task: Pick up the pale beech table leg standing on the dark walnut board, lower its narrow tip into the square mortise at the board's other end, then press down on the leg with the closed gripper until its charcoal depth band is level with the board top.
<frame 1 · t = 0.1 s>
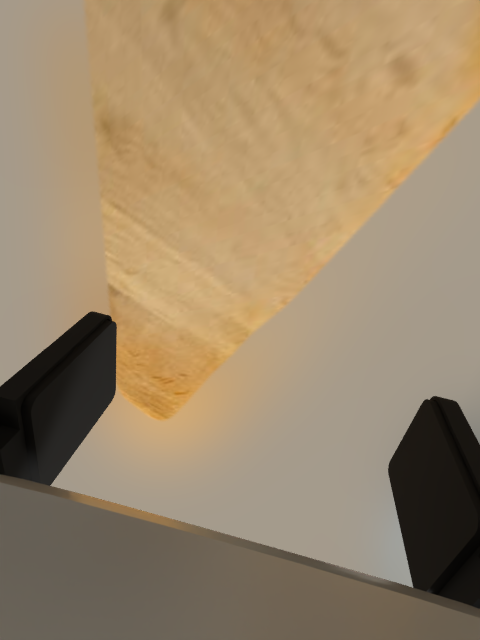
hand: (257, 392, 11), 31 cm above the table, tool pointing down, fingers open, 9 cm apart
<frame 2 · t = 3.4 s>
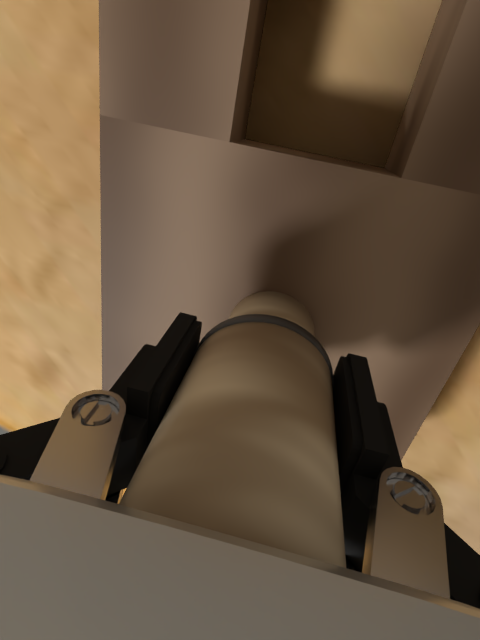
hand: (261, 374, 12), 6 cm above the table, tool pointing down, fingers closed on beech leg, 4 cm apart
walnut board: (304, 188, 15), on the table
beech leg: (270, 331, 14), point 3 cm above the table, touching gripper, walnut board
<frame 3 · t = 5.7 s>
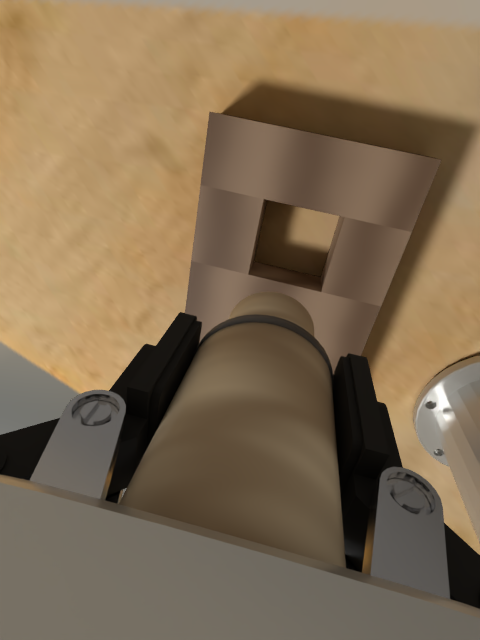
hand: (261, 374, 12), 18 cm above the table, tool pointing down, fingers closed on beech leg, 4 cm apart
walnut board: (283, 284, 30), on the table
beech leg: (270, 331, 14), point 15 cm above the table, touching gripper
when the fingers open (4 cm above the table, at t = 8.3 s): beech leg drops 1 cm, resting in walnut board.
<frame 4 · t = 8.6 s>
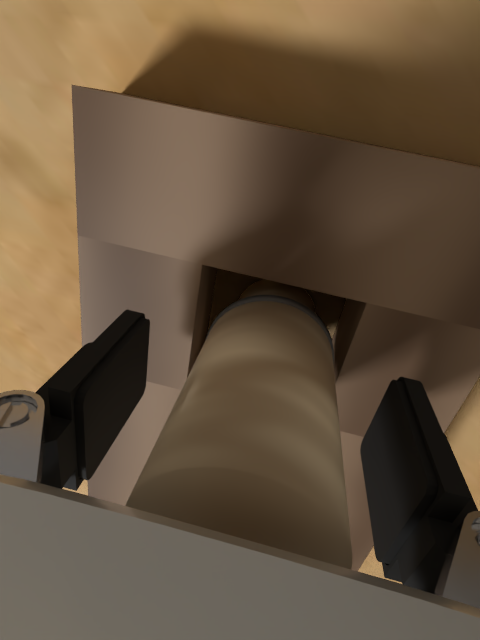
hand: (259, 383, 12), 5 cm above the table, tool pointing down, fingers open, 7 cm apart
walnut board: (255, 386, 18), on the table
beech leg: (275, 315, 16), resting in walnut board
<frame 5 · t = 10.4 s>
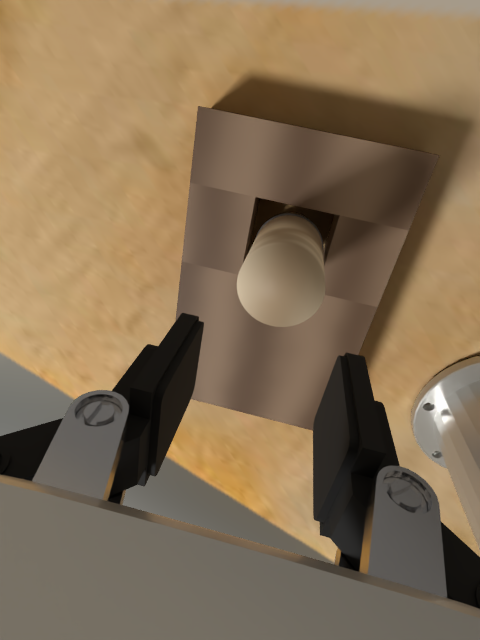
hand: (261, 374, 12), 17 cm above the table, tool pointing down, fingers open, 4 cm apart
walnut board: (277, 284, 29), on the table
beech leg: (290, 235, 27), resting in walnut board
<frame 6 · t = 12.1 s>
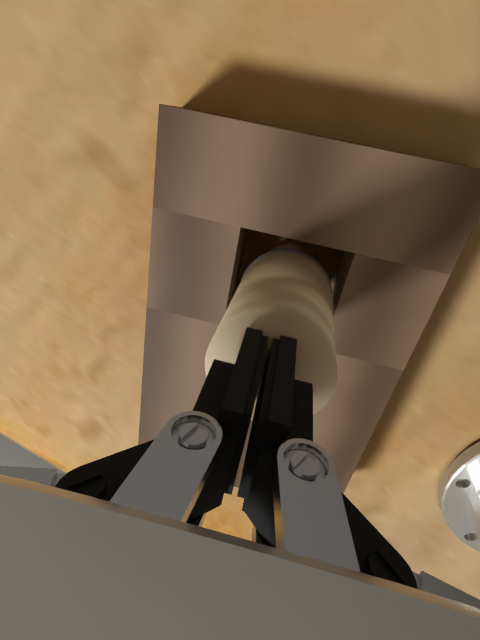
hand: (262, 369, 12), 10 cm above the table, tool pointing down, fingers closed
walnut board: (272, 331, 23), on the table
beech leg: (289, 272, 21), resting in walnut board, touching gripper
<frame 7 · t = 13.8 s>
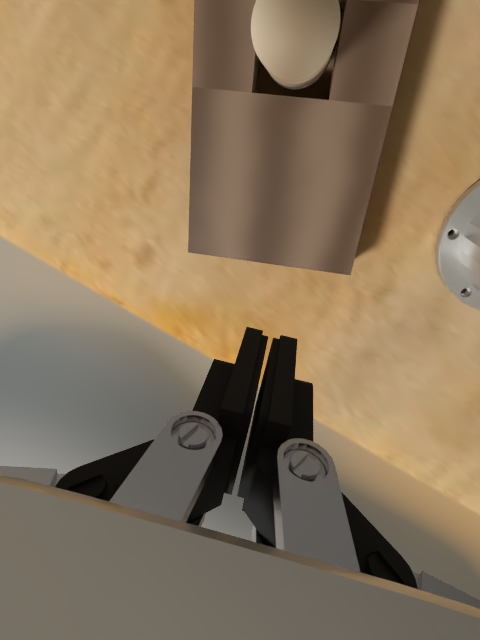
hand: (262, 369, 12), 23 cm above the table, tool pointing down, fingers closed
walnut board: (288, 118, 29), on the table
beech leg: (298, 56, 27), resting in walnut board
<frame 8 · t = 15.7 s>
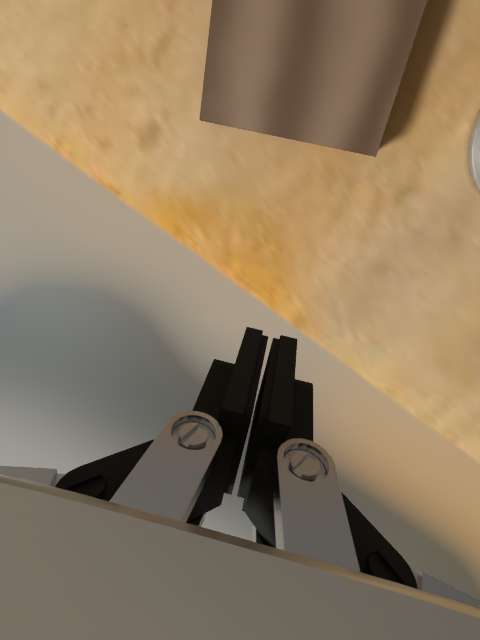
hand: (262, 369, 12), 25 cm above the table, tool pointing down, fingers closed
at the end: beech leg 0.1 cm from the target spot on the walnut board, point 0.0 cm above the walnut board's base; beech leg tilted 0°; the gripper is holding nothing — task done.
